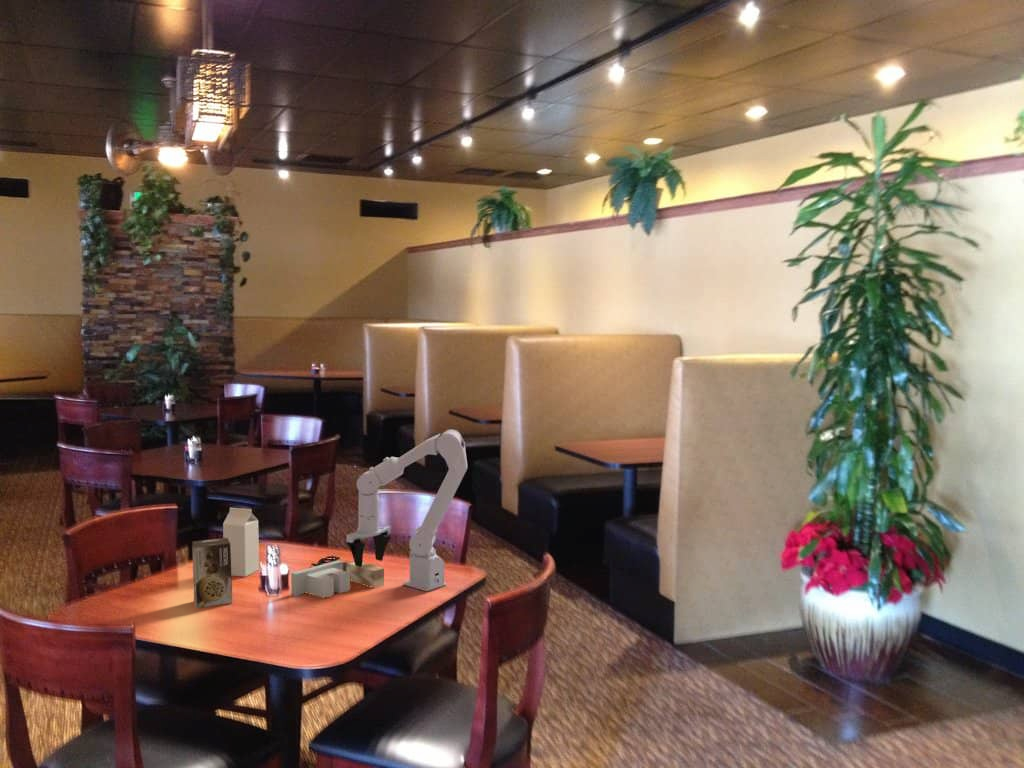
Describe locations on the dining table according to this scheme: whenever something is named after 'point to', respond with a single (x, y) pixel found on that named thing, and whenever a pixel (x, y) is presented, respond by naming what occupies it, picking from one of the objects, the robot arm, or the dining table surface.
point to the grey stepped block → (321, 580)
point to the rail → (365, 573)
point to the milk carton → (242, 541)
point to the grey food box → (212, 572)
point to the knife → (326, 559)
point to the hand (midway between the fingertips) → (368, 562)
